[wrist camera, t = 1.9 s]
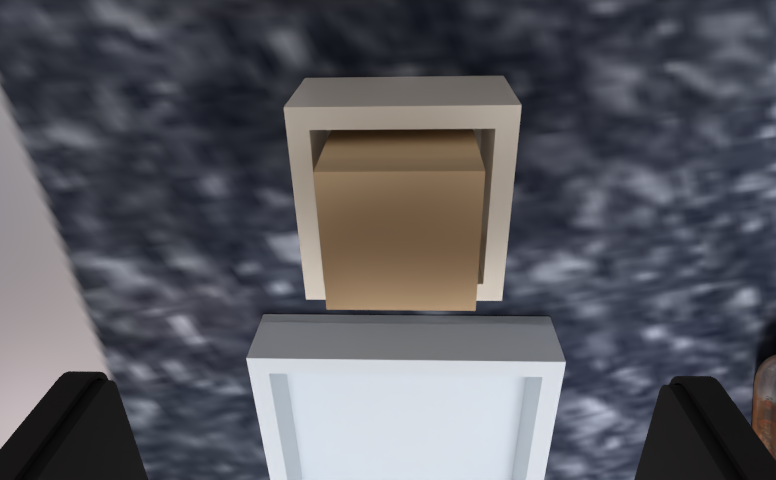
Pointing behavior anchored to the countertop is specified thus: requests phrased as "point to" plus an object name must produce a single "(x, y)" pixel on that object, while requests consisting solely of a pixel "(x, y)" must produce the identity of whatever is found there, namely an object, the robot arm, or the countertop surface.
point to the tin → (765, 404)
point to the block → (400, 219)
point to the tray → (406, 396)
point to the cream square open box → (407, 111)
